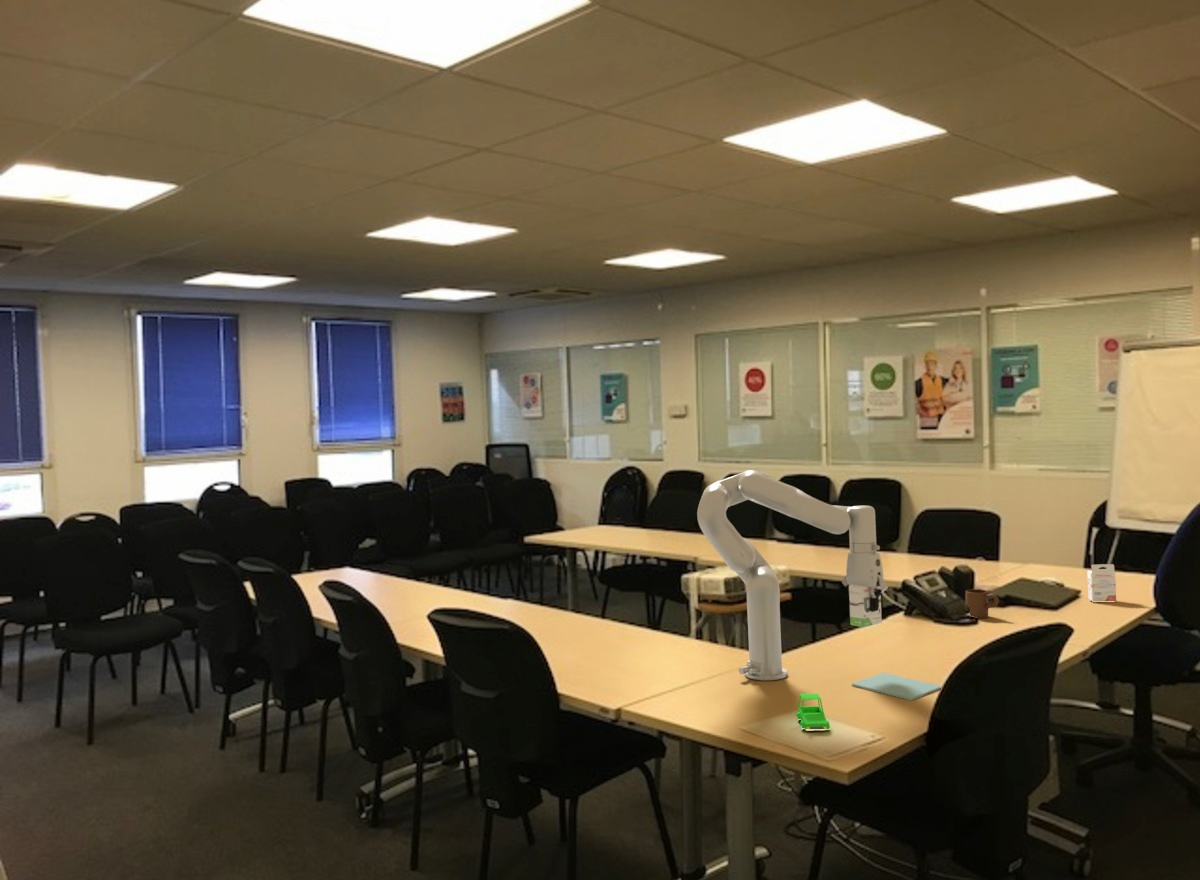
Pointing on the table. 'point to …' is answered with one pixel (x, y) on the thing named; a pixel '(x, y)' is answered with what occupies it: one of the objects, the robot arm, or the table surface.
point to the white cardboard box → (862, 607)
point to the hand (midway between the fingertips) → (865, 608)
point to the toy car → (812, 714)
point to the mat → (897, 686)
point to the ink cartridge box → (1101, 583)
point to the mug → (980, 602)
